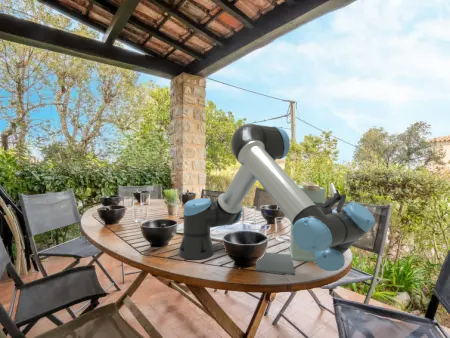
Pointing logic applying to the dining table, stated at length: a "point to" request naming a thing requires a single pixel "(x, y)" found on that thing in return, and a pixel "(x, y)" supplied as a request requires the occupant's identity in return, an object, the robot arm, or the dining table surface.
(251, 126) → the robot arm
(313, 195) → the stand
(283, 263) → the mat
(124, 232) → the dining table surface
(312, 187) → the block
